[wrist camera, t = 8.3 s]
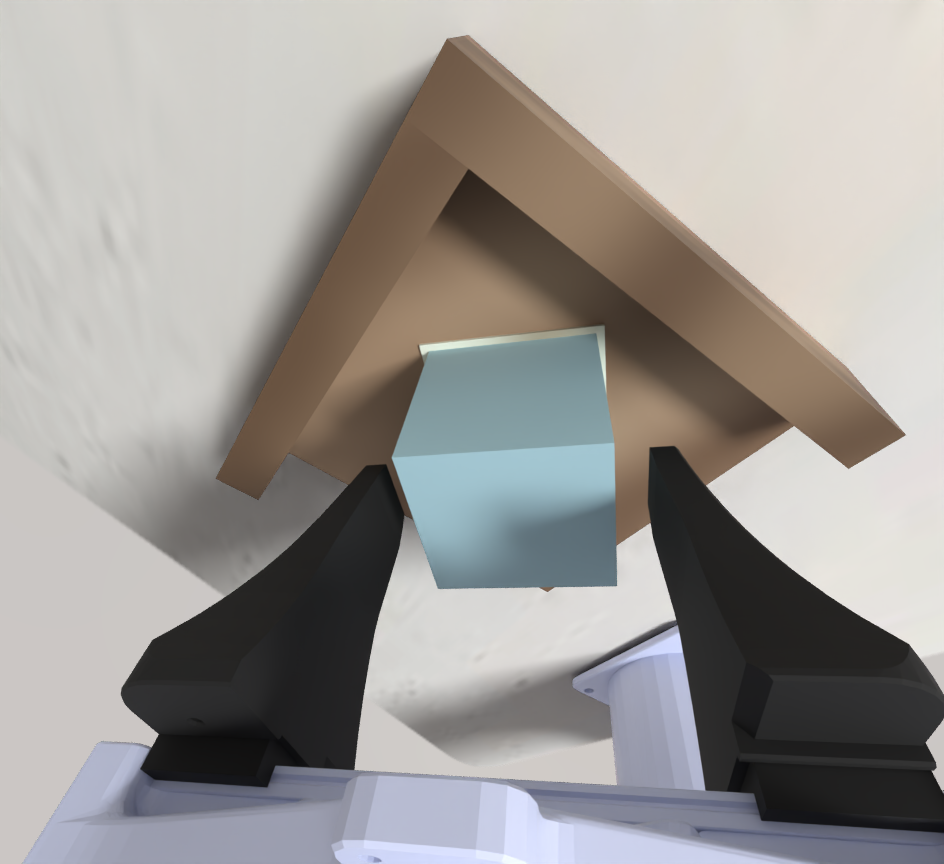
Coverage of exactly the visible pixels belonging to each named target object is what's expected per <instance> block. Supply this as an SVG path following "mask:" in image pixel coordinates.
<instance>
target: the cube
mask: <svg viewBox="0 0 944 864" xmlns="http://www.w3.org/2000/svg"><path fill="white" fill-rule="evenodd" d="M392 460H393V463H394V465H395V468H396V471H397V474H398V477H399V480H400V482H401V485H402V488H403V491H404V494H405V497H406V499H407V502H408V505H409V508H410V511H411V514H412V516H413V519H414V522H415V525H416V528H417V531H418V533H419V536H420V539H421V542H422V545H423V548H424V550H425V553H426V556H427V559H428V562H429V564H430V567H431V570H432V573H433V576H434V579H435V581H436V584H437V587H438V589H459V588H527V587H595V586H617V558H616V502H615V447H614V437H613V431H612V425H611V419H610V413H609V407H608V401H607V395H606V389H605V383H604V377H603V371H602V365H601V358H600V352H599V346H598V340H597V334H596V333H595V334H586V335H576V336H567V337H558V338H548V339H539V340H530V341H520V342H511V343H501V344H492V345H483V346H473V347H464V348H455V349H445V350H436V351H429V353H428V356H427V359H426V362H425V365H424V367H423V370H422V373H421V376H420V379H419V382H418V385H417V387H416V390H415V393H414V396H413V399H412V402H411V404H410V407H409V410H408V413H407V416H406V419H405V422H404V424H403V427H402V430H401V433H400V436H399V439H398V441H397V444H396V447H395V450H394V453H393V456H392Z"/></svg>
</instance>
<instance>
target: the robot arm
mask: <svg viewBox="0 0 944 864" xmlns="http://www.w3.org/2000/svg"><path fill="white" fill-rule="evenodd" d="M648 509H649V515H650V522H651V528H652V534H653V539H654V543H655V546H656V550H657V553H658V557H659V560H660V564H661V567H662V571H663V574H664V578H665V581H666V585H667V588H668V592H669V595H670V599H671V602H672V605H673V609H674V612H675V616H676V620H677V625H676V626H675V627H673V628H671V629H669V630H667V631H665V632H663V633H661V634H659V635H657V636H655V637H653V638H651V639H649V640H647V641H645V642H643V643H641V644H639V645H637V646H635V647H633V648H631V649H629V650H627V651H626V652H624V653H622V654H620V655H618V656H616V657H614V658H612V659H610V660H608V661H606V662H604V663H602V664H600V665H598V666H596V667H594V668H592V669H590V670H588V671H586V672H584V673H582V674H580V675H578V676H576V677H575V678H574V679H573V681H572V683H573V688H574V689H575V690H577V691H579V692H581V693H583V694H585V695H588V696H590V697H592V698H594V699H596V700H598V701H600V702H602V703H604V704H606V705H608V706H610V716H611V727H612V737H613V748H614V757H615V768H616V780H617V785H600V784H582V783H565V782H546V781H530V780H513V779H496V778H479V777H461V776H444V775H427V774H426V775H425V774H410V773H392V772H374V771H358V770H354V768H355V759H356V750H357V740H358V731H359V724H360V717H361V709H362V703H363V695H364V689H365V683H366V677H367V671H368V665H369V659H370V654H371V649H372V644H373V638H374V633H375V629H376V625H377V621H378V617H379V613H380V610H381V607H382V603H383V600H384V597H385V593H386V590H387V587H388V583H389V580H390V577H391V574H392V570H393V567H394V563H395V560H396V557H397V553H398V550H399V546H400V540H401V534H402V528H403V521H404V511H403V509H402V506H401V503H400V500H399V498H398V495H397V492H396V489H395V487H394V484H393V481H392V478H391V476H390V473H389V470H388V467H387V465H386V464H380V465H366V466H365V467H364V468H363V470H362V471H361V472H360V473H359V474H358V475H357V476H356V477H355V478H354V480H353V481H352V482H351V483H350V484H349V485H348V486H347V487H346V489H345V490H344V491H343V492H342V493H341V494H340V495H339V497H338V498H337V499H336V500H335V501H334V502H333V503H332V504H331V505H330V506H329V508H328V509H327V510H326V511H325V512H324V513H323V514H322V515H321V516H320V517H319V518H318V519H317V520H316V521H315V522H314V523H313V524H312V525H311V526H310V527H309V528H308V529H307V530H306V531H305V532H304V533H303V534H302V535H301V536H300V537H299V538H298V539H297V540H296V541H295V542H294V543H293V544H292V545H291V546H290V547H289V548H288V549H287V550H285V551H284V552H283V553H282V554H281V555H280V556H279V557H277V558H276V559H275V560H274V561H273V562H271V563H270V564H269V565H268V566H267V567H265V568H264V569H263V570H262V571H260V572H259V573H258V574H256V575H255V576H254V577H252V578H251V579H250V580H248V581H247V582H246V583H244V584H243V585H242V586H240V587H239V588H238V589H236V590H235V591H233V592H232V593H231V594H229V595H228V596H226V597H225V598H223V599H222V600H220V601H219V602H217V603H216V604H214V605H212V606H211V607H209V608H208V609H206V610H205V611H203V612H202V613H200V614H198V615H196V616H195V617H193V618H191V619H190V620H188V621H186V622H184V623H183V624H181V625H179V626H177V627H175V628H174V629H172V630H170V631H168V632H166V633H165V634H163V635H161V636H159V637H157V638H155V639H153V640H152V642H151V643H150V645H149V646H148V648H147V649H146V651H145V652H144V654H143V656H142V657H141V659H140V660H139V662H138V663H137V665H136V667H135V668H134V670H133V671H132V673H131V675H130V676H129V678H128V679H127V681H126V682H125V684H124V685H123V687H122V690H121V696H122V699H123V701H124V703H125V705H126V706H127V707H128V708H129V709H130V710H131V711H132V712H133V713H134V714H136V715H137V716H138V717H139V718H140V719H142V720H143V721H144V722H145V723H146V724H148V725H149V726H150V727H151V728H152V729H154V730H155V731H156V732H157V733H158V734H159V735H158V737H157V739H156V741H155V743H154V744H153V746H152V748H151V747H149V746H146V745H143V744H138V743H125V742H104V741H102V742H99V743H97V745H96V746H95V748H94V750H93V751H92V753H91V754H90V756H89V757H88V759H87V761H86V762H85V764H84V765H83V767H82V769H81V770H80V772H79V773H78V775H77V777H76V778H75V780H74V782H73V783H72V785H71V786H70V788H69V790H68V791H67V793H66V794H65V796H64V798H63V799H62V801H61V802H60V804H59V805H58V807H57V809H56V810H55V812H54V814H53V815H52V817H51V818H50V820H49V822H48V823H47V825H46V827H45V828H44V830H43V831H42V833H41V834H40V836H39V838H38V839H37V841H36V842H35V844H34V846H33V848H32V849H31V851H30V852H29V854H28V855H27V857H26V859H25V860H24V862H23V863H22V864H944V790H943V791H942V790H941V789H940V786H939V785H938V783H937V781H936V779H935V777H934V775H933V773H932V771H931V770H935V769H936V762H935V760H934V758H933V756H932V754H931V752H930V750H929V749H928V747H927V745H926V741H927V740H928V739H929V737H930V736H931V735H932V733H933V732H934V731H935V730H936V728H937V727H938V726H939V725H940V723H941V722H942V720H943V719H944V694H943V693H942V691H941V689H940V688H939V686H938V684H937V682H936V681H935V679H934V678H933V676H932V675H931V673H930V672H929V670H928V669H927V668H926V666H925V665H924V663H923V662H922V661H921V659H920V658H919V657H918V655H917V654H916V653H915V652H914V650H913V649H912V648H911V646H910V645H909V644H908V643H906V642H904V641H902V640H901V639H899V638H897V637H895V636H894V635H892V634H890V633H888V632H887V631H885V630H883V629H881V628H880V627H878V626H876V625H874V624H873V623H871V622H869V621H867V620H866V619H864V618H862V617H860V616H859V615H857V614H856V613H854V612H852V611H851V610H849V609H848V608H846V607H845V606H843V605H842V604H840V603H839V602H837V601H835V600H834V599H832V598H831V597H829V596H828V595H826V594H825V593H824V592H822V591H821V590H820V589H818V588H817V587H815V586H814V585H813V584H811V583H810V582H808V581H807V580H806V579H804V578H803V577H802V576H800V575H799V574H797V573H796V572H795V571H793V570H792V569H791V568H790V567H788V566H787V565H786V564H785V563H784V562H782V561H781V560H780V559H779V558H777V557H776V556H775V555H774V554H773V553H772V552H770V551H769V550H768V549H767V548H766V547H765V546H763V545H762V544H761V543H760V542H759V541H758V540H757V539H756V538H755V537H754V536H753V535H751V534H750V533H749V532H748V531H747V530H746V529H745V528H744V527H743V526H742V525H741V524H740V523H739V522H738V521H737V520H736V519H735V518H734V517H733V516H732V515H731V514H730V512H729V511H728V510H727V509H726V508H725V507H724V506H723V505H722V504H721V503H720V502H719V500H718V499H717V498H716V497H715V496H714V495H713V494H712V492H711V491H710V490H709V489H708V488H707V487H706V485H705V484H704V483H703V482H702V480H701V479H700V478H699V477H698V475H697V474H696V473H695V472H694V470H693V469H692V468H691V466H690V465H689V464H688V462H687V461H686V459H685V458H684V456H683V455H682V454H681V452H680V451H679V449H678V448H677V447H675V446H662V447H649V477H648Z"/></svg>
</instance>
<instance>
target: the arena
mask: <svg viewBox="0 0 944 864" xmlns="http://www.w3.org/2000/svg"><path fill="white" fill-rule="evenodd" d="M595 333H596V334H597V340H598V346H599V352H600V358H601V365H602V371H603V377H604V383H605V389H606V395H607V401H608V407H609V413H610V419H611V425H612V431H613V437H614V447H615V502H616V546H617V545H618V544H619V543H621V542H622V541H624V540H625V539H627V538H628V537H630V536H631V535H633V534H634V533H636V532H637V531H639V530H640V529H642V528H643V527H645V526H646V525H648V524H649V523H651V522H650V515H649V509H648V477H649V447H662V446H675V447H677V448H678V449H679V451H680V452H681V454H682V455H683V456H684V458H685V459H686V461H687V462H688V464H689V465H690V466H691V468H692V469H693V470H694V472H695V473H696V474H697V475H698V477H699V478H700V479H701V480H702V482H703V483H704V484H705V485H707V484H709V483H710V482H712V481H713V480H714V479H716V478H717V477H719V476H720V475H722V474H723V473H725V472H726V471H728V470H729V469H731V468H732V467H734V466H735V465H737V464H738V463H740V462H741V461H743V460H744V459H746V458H747V457H749V456H750V455H752V454H753V453H755V452H756V451H758V450H759V449H761V448H762V447H763V446H765V445H766V444H768V443H769V442H771V441H772V440H774V439H775V438H777V437H778V436H780V435H781V434H783V433H784V432H786V431H787V430H789V429H790V428H792V427H793V426H795V427H796V428H798V429H799V430H800V431H801V432H803V433H804V434H805V435H806V436H808V437H809V438H810V439H812V440H813V441H814V442H815V443H817V444H818V445H819V446H820V447H822V448H823V449H824V450H825V451H827V452H828V453H829V454H831V455H832V456H833V457H834V458H836V459H837V460H838V461H839V462H841V463H842V464H843V465H844V466H846V467H847V468H848V469H849V468H851V467H852V466H854V465H856V464H858V463H859V462H861V461H863V460H864V459H866V458H868V457H869V456H871V455H873V454H875V453H876V452H878V451H880V450H881V449H883V448H885V447H887V446H888V445H890V444H892V443H893V442H895V441H897V440H899V439H900V438H902V437H904V436H905V433H904V432H903V431H902V430H901V429H900V428H899V427H898V425H897V424H896V423H895V422H894V421H893V420H892V419H891V417H890V416H889V415H888V414H887V413H886V412H885V410H884V409H883V408H882V407H881V406H880V405H879V404H878V402H877V401H876V400H875V399H874V398H873V397H872V396H871V394H870V393H869V392H868V391H867V390H866V389H865V388H864V386H863V385H862V384H861V383H860V382H859V381H858V380H857V378H856V377H855V376H854V375H853V374H852V373H851V372H850V370H849V369H848V368H847V367H846V366H845V365H843V364H842V363H841V362H840V361H839V360H838V359H837V358H836V357H834V356H833V355H832V354H831V353H830V352H829V351H828V350H826V349H825V348H824V347H823V346H822V345H821V344H820V343H818V342H817V341H816V340H815V339H814V338H813V337H812V336H810V335H809V334H808V333H807V332H806V331H805V330H804V329H802V328H801V327H800V326H799V325H798V324H797V323H796V322H795V321H793V320H792V319H791V318H790V317H789V316H788V315H787V314H785V313H784V312H783V311H782V310H781V309H780V308H779V307H777V306H776V305H775V304H774V303H773V302H772V301H771V300H769V299H768V298H767V297H766V296H765V295H764V294H763V293H761V292H760V291H759V290H758V289H757V288H756V287H755V286H753V285H752V284H751V283H750V282H749V281H748V280H747V279H746V278H744V277H743V276H742V275H741V274H740V273H739V272H738V271H736V270H735V269H734V268H733V267H732V266H731V265H730V264H728V263H727V262H726V261H725V260H724V259H723V258H722V257H720V256H719V255H718V254H717V253H716V252H715V251H714V250H712V249H711V248H710V247H709V246H708V245H707V244H706V243H705V242H703V241H702V240H701V239H700V238H699V237H698V236H697V235H695V234H694V233H693V232H692V231H691V230H690V229H689V228H687V227H686V226H685V225H684V224H683V223H682V222H681V221H679V220H678V219H677V218H676V217H675V216H674V215H673V214H671V213H670V212H669V211H668V210H667V209H666V208H665V207H663V206H662V205H661V204H660V203H659V202H658V201H657V200H656V199H654V198H653V197H652V196H651V195H650V194H649V193H648V192H646V191H645V190H644V189H643V188H642V187H641V186H640V185H638V184H637V183H636V182H635V181H634V180H633V179H632V178H630V177H629V176H628V175H627V174H626V173H625V172H624V171H622V170H621V169H620V168H619V167H618V166H617V165H616V164H615V163H613V162H612V161H611V160H610V159H609V158H608V157H607V156H605V155H604V154H603V153H602V152H601V151H600V150H599V149H597V148H596V147H595V146H594V145H593V144H592V143H591V142H589V141H588V140H587V139H586V138H585V137H584V136H583V135H581V134H580V133H579V132H578V131H577V130H576V129H575V128H573V127H572V126H571V125H570V124H569V123H568V122H567V121H566V120H564V119H563V118H562V117H561V116H560V115H559V114H558V113H556V112H555V111H554V110H553V109H552V108H551V107H550V106H548V105H547V104H546V103H545V102H544V101H543V100H542V99H540V98H539V97H538V96H537V95H536V94H535V93H534V92H532V91H531V90H530V89H529V88H528V87H527V86H526V85H525V84H523V83H522V82H521V81H520V80H519V79H518V78H517V77H515V76H514V75H513V74H512V73H511V72H510V71H509V70H507V69H506V68H505V67H504V66H503V65H502V64H501V63H499V62H498V61H497V60H496V59H495V58H494V57H493V56H491V55H490V54H489V53H488V52H487V51H486V50H485V49H483V48H482V47H481V46H480V45H479V44H478V43H477V42H476V41H474V40H473V39H472V38H471V37H470V36H469V35H466V36H461V37H455V38H449V39H447V40H446V42H445V43H444V45H443V47H442V49H441V51H440V53H439V55H438V57H437V59H436V61H435V62H434V64H433V66H432V68H431V70H430V72H429V74H428V76H427V78H426V80H425V81H424V83H423V85H422V87H421V89H420V91H419V93H418V95H417V97H416V99H415V100H414V102H413V104H412V106H411V108H410V110H409V112H408V114H407V116H406V118H405V119H404V121H403V123H402V125H401V127H400V129H399V131H398V133H397V135H396V137H395V139H394V140H393V142H392V144H391V146H390V148H389V150H388V152H387V154H386V156H385V158H384V159H383V161H382V163H381V165H380V167H379V169H378V171H377V173H376V175H375V177H374V178H373V180H372V182H371V184H370V186H369V188H368V190H367V192H366V194H365V196H364V197H363V199H362V201H361V203H360V205H359V207H358V209H357V211H356V213H355V215H354V216H353V218H352V220H351V222H350V224H349V226H348V228H347V230H346V232H345V234H344V235H343V237H342V239H341V241H340V243H339V245H338V247H337V249H336V251H335V253H334V254H333V256H332V258H331V260H330V262H329V264H328V266H327V268H326V270H325V272H324V274H323V275H322V277H321V279H320V281H319V283H318V285H317V287H316V289H315V291H314V293H313V294H312V296H311V298H310V300H309V302H308V304H307V306H306V308H305V310H304V312H303V313H302V315H301V317H300V319H299V321H298V323H297V325H296V327H295V329H294V331H293V332H292V334H291V336H290V338H289V340H288V342H287V344H286V346H285V348H284V350H283V351H282V353H281V355H280V357H279V359H278V361H277V363H276V365H275V367H274V369H273V370H272V372H271V374H270V376H269V378H268V380H267V382H266V384H265V386H264V388H263V389H262V391H261V393H260V395H259V397H258V399H257V401H256V403H255V405H254V407H253V409H252V410H251V412H250V414H249V416H248V418H247V420H246V422H245V424H244V426H243V428H242V429H241V431H240V433H239V435H238V437H237V439H236V441H235V443H234V445H233V447H232V448H231V450H230V452H229V454H228V456H227V458H226V460H225V462H224V464H223V466H222V467H221V469H220V471H219V473H218V475H217V477H216V479H217V480H219V481H221V482H223V483H225V484H227V485H229V486H231V487H233V488H235V489H237V490H239V491H241V492H243V493H245V494H247V495H249V496H251V497H253V498H255V499H257V500H259V498H260V497H261V495H262V494H263V492H264V490H265V489H266V487H267V486H268V484H269V483H270V481H271V479H272V478H273V476H274V475H275V473H276V471H277V470H278V468H279V467H280V465H281V464H282V462H283V460H284V459H285V457H286V456H287V454H288V453H290V454H292V455H294V456H296V457H298V458H299V459H301V460H303V461H305V462H307V463H309V464H311V465H312V466H314V467H316V468H318V469H320V470H322V471H324V472H325V473H327V474H329V475H331V476H333V477H335V478H337V479H338V480H340V481H342V482H344V483H346V484H348V485H349V484H350V483H351V482H352V481H353V480H354V478H355V477H356V476H357V475H358V474H359V473H360V472H361V471H362V470H363V468H364V467H365V466H366V465H380V464H386V465H387V467H388V470H389V473H390V476H391V478H392V481H393V484H394V487H395V489H396V492H397V495H398V498H399V500H400V503H401V506H402V509H403V511H404V515H405V516H407V517H409V518H411V519H413V516H412V514H411V511H410V508H409V505H408V502H407V499H406V497H405V494H404V491H403V488H402V485H401V482H400V480H399V477H398V474H397V471H396V468H395V465H394V463H393V460H392V456H393V453H394V450H395V447H396V444H397V441H398V439H399V436H400V433H401V430H402V427H403V424H404V422H405V419H406V416H407V413H408V410H409V407H410V404H411V402H412V399H413V396H414V393H415V390H416V387H417V385H418V382H419V379H420V376H421V373H422V370H423V367H424V365H425V362H426V359H427V356H428V353H429V351H436V350H445V349H455V348H464V347H473V346H483V345H492V344H501V343H511V342H520V341H530V340H539V339H548V338H558V337H567V336H576V335H586V334H595ZM413 520H414V519H413ZM539 588H541V589H543V590H545V591H547V592H548V591H550V590H551V589H553V588H554V587H539Z"/></svg>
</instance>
